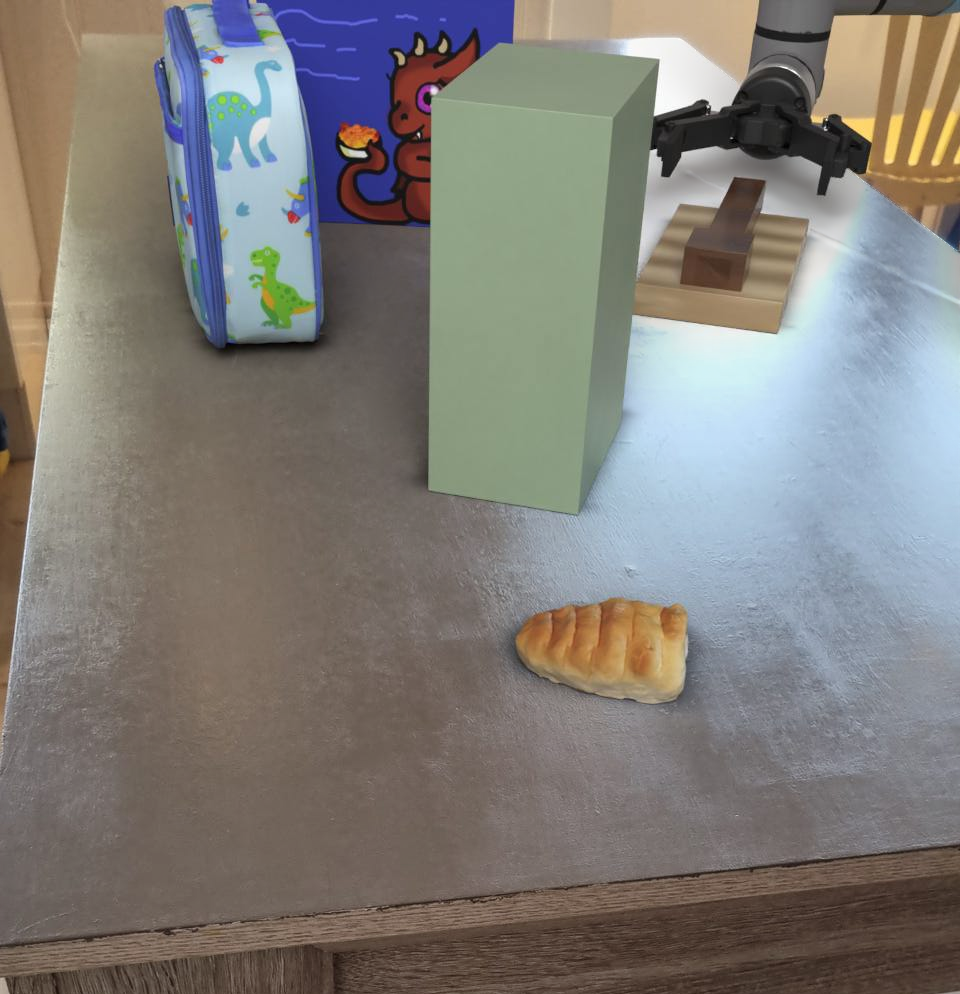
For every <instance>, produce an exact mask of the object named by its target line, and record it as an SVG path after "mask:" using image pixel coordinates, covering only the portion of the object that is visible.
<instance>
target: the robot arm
mask: <svg viewBox="0 0 960 994" xmlns="http://www.w3.org/2000/svg"><path fill="white" fill-rule="evenodd" d="M959 13H960V0H758V6H757V13H756V14H757V15H756V22H755V28H754V30H753V37H752V42H751V49H750V56H749V64H748V70H747V74H746V77H745V78H744V80H743V82H742V83H741V84H740V86H739V88H738V91H737V93H736V94H735V96H734V98H733V100H732V102H731V105H726V106H722V107H720V110H718V111H717V110H712V105H711V104H710V101H708V99H703V98H701V99H699V100H696V101H694V102H693V103H692V104H690V105H687V106H683V107H681V108H677V109H673V110H670V111H667V112H665V113H664V112H663V113H660V114H656V115H654V118H653V128H652V137H651V146H650V151H655V150H656V156H657V157H658V158H660V161H661V163H662V164H661V171H660V177H661V178H668V179H670V178H671V175H672V174H673V173H674V171H675V169H676V167H677V165H678V164H679V162H680V161H681V159H682V155H683V153H685V152H686V153H687V152H692V151H696V150H702V149H708V148H714V147H716V148H719V149H723V150H724V151H729V150H734V149H740V151H742V152H743V153H744V154H745V155H747V156H749V157H750V158H753V159H756V160H761V161H770V160H771V161H773V160H776V159H779V158H782V157H784V156H786V157H788V158H796V157H801V158H803V159H805V160H806V161H807V160H808V161H809V162H811V163H813V164H815V165H818V166H819V167H821V169H820V175H819V179H818V185H817V189H816V196H823V197H826V195H827V192H828V189H829V184H830V182H831V179H832V178H836V179H843V178H844V177H845V174H846V172H847V169H848V170H849V171H851V172H852V173H854V174H856V175H865V174H867V170H868V166H869V160H870V156H871V151H872V146H873V142H871V141H870V140H869V139H867V138H866V137H864V135H862V134H861V133H859V132H858V131H856V129H853V128H852V127H851V126H849V125H848V124H847V123H846V122H844V121H843V118H842V116H841V115H839V114H838V113H830V114H828V115H827V117H823V118H822V122H814V121H813V120H812V114H813V111H814V108H815V105H816V104H817V100H818V99H819V98H820V97H821V94H822V91H823V87H824V82H825V74H826V69H825V64H826V58H827V54H828V47H829V42H830V37H831V32H832V27H833V23H834V19H835V17H842V16H844V17H845V16H921V17H922V16H923V17H926V18H927V17H928V18H934V17H938V16H941V15H948V14H949V15H950V14H959Z"/></svg>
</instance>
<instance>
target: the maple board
mask: <svg viewBox="0 0 960 994" xmlns="http://www.w3.org/2000/svg"><path fill="white" fill-rule="evenodd" d="M718 209H719V207H713V206H706V205H705V206H704V205H696V204H689V203H682V202H681V203H679V204H678V206H677V208H676V209H675V211H674V213H673V215H672V216H671V219H670V221H669V222H668V224H667V226H666V228H665V230H664V231H663V233H662V235H661V237H660V239H659V240H658V243H657V244H656V246H655V248H654V249H653V251H652V253H651V255H650V257H649V258H648V261H647V262H646V264H645V266H644V268H643V269H642V271H641V273H640V275H639V277H637V279H636V287H635V296H634V305H633V315H638V316H644V317H652V318H658V319H659V318H660V319H668V320H674V321H681V322H689V323H695V324H703V325H710V326H717V327H725V328H732V329H739V330H747V331H748V330H749V331H753V332H762V333H768V334H769V333H770V334H778V333H779V331H780V327H781V324H782V321H783V318H784V315H785V311H786V309H787V304H788V301H789V299H790V295H791V291H792V290H793V289H792V288H793V285H794V282H795V278H796V277H797V273H798V269H799V266H800V263H801V259H802V256H803V254H804V253H803V252H804V250H805V246H806V242H807V236H808V229H809V224H810V218H804V217H797V216H788V215H779V214H771V213H762V212H760V215H759V217H758V220H757V222H756V225H755V227H754V229H753V232H752V234H755V238H754V244H753V250H752V256H751V262H750V269H749V273H748V275H747V278H746V280H745V283H744V286H743V288H742V291H741V292H738V291H730V290H723V289H715V288H707V287H700V286H692V285H685V284H680V280H681V273H682V265H683V257H684V249H685V245H686V243H687V241H688V239H689V237H690V235H691V233H692V232H693V230H694V228H695V227H700V228H708V229H709V228H710V226H711V223H712V221H713V219H714V217H715V215H716V213H717V211H718Z"/></svg>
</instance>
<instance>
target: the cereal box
mask: <svg viewBox="0 0 960 994" xmlns="http://www.w3.org/2000/svg"><path fill="white" fill-rule="evenodd" d="M515 2H516V0H256V1H255V3H265V4H267V5H268V7H270V8H272V10H273V14H274V17H275V19H276V22H277V25H278V28H279V29H280V31H281V34H282V36H283V38H284V40H285V41H286V44H287V46H288V48H289V49H290V51H291V53H292V55H293V58H294V61H295V67H296V77H297V83H298V86H299V89H300V92H301V95H302V98H303V102H304V106H305V109H306V115H307V121H308V127H309V133H310V139H311V147H312V154H313V162H314V170H315V180H316V189H317V204H318V219H319V223H342V224H343V223H344V224H363V225H364V224H365V225H382V226H383V225H386V226H403V227H404V226H407V227H428V228H430V206H431V98H432V97H433V96H434V95H436V94H437V93H438V92H439V91H441V90H442V89H443V88H444V87H445V86H447V85H448V84H449V83H450V82H452V81H453V80H454V79H455V78H456V77H458V76H459V75H460V74H461V73H463V72H464V71H465V70H466V69H467V68H469V67H470V66H471V65H472V64H474V63H475V62H476V61H477V60H478V59H480V58H481V57H482V56H483V55H485V54H486V53H487V52H488V51H489V50H491V49H492V48H493V47H494V46H496V45H497V44H498V43H508V44H514V29H515V27H514V26H515V4H516V3H515Z"/></svg>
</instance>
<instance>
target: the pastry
mask: <svg viewBox="0 0 960 994" xmlns="http://www.w3.org/2000/svg"><path fill="white" fill-rule="evenodd" d="M688 630H689V615H688V611H687V610H686V608H685V607H684V606H683V605H681V604H680V603H678V602H677V603H674V604H672V605H671V606H664V605H661V604H659V603H649V602H644V601H642V600H637V599H636V600H631V599H627V598H626V597H623V596H622V597H621V596H620V597H610V598H609V599H606V600H605V601H602V602H598V603H590V604H585V605H575V604H569V605H564V606H562V607H560V608H557V609H555V608H554V609H553V608H552V609H550V610H546V611H543V612H538V613H535V614H534V615H532V616H531V617H530V618H528V619H527V620H526V621H525V622H524V623H523V625H522V627H521V629H519V632H518V634H516V637H515V641H514V644H515V651H516V653H517V655H518V657H519V658H520V660H521V661H522V663H523V664H524V665H525V667H526V668H527V669H528V670H529V671H531V672H533V673H535V674H536V675H538V677H539V678H545V679H548V680H549V681H550V682H551V683H554V684H559V683H560V684H562V685H563V684H564V685H566V686H569V687H571V688H573V689H574V690H576V691H577V692H584V693H587V694H595V695H597V696H601V697H604V698H613V699H617V700H624V699H631V700H634V701H636V702H637V703H642V704H649V705H650V704H652V705H653V704H663V703H668V702H669V703H670V702H672V701H676V700H677V699H678V697H679V695H680V694H681V693H682V692H683V690H684V687H685V681H686V675H687V664H686V659H687V657H688V654H689V646H690V645H689V644H690V643H689V634H688Z"/></svg>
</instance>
